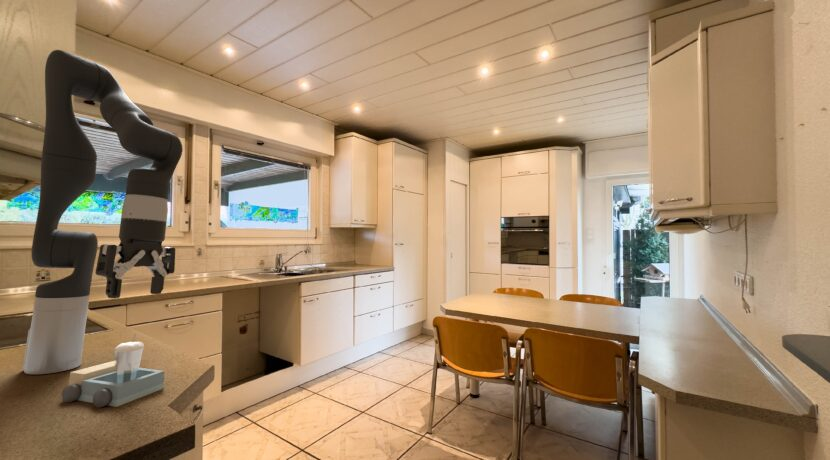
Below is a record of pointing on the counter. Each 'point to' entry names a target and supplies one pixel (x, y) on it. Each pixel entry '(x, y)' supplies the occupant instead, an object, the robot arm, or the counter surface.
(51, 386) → the counter surface
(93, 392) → the chassis
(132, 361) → the milkshake
